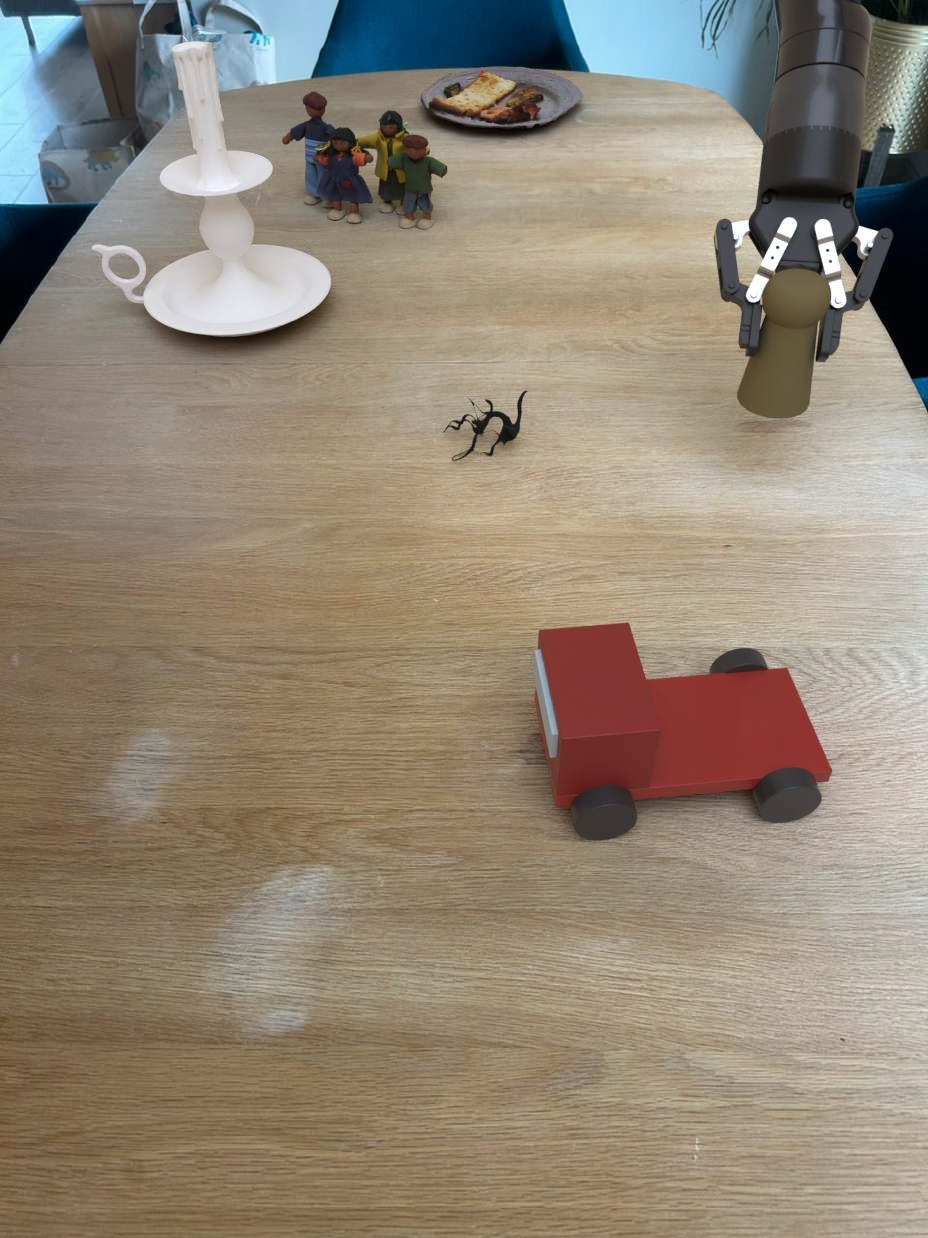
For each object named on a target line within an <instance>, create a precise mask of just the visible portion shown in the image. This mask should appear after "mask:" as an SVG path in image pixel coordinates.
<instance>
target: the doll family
mask: <svg viewBox="0 0 928 1238" xmlns="http://www.w3.org/2000/svg"><path fill="white" fill-rule="evenodd" d="M302 105H304V106H305V107H304V108H305V111H306V113H307V115H308V116H309V117H310V119H309V120H306V121H304V122H301V123H299V124H296V125H295V126H293V127H291V128H290V130H289V132H287V133H286V135H285V136H283V137H282V139H281V142H282V144H283V145H284V146H287V145H289V144H290V143H291V142H293V141H294V140H295V142H300V141H302V140H303V139H304V145H305V146H304V158H305V159H304V160H305V169H304V183H305V194H306V196H305V197H304V198H303V202H304V203H305V204H306V205H315V204H317V203H319V202H320V201H321V206H322V207H323V208H333V209H331V210H330V211H329V212H328V214H327V218H328V219H329V220H331V221H332V220H333V221H337V220H341V219H342V218H343V217H344V216H345V215H346V214H347V212H346V211H345V209H344V208H343V207H342V201H343V202H347V203H350V213H349V214H348V215H347V217H346V221H347V223H350V224H351V223H354V224H357V223H360V222H362V221H363V218H362V215H361V214H360V213H359V211H360V210H359V205H364V204H372V203H374V199H373V196H372V194H371V191H370V189H369V186H368V185H367V183H366V180H365V179H364V177H363V176H362V175H361V174H360V168H361V167H366V166H367V165H368V164H371V163H373V162H374V156H373V155H372V154H371V153H370V151H369V149H370V150H376V162H375V167H374V176H375V177H377V178H378V179H379V180H378V188H377V189H378V190H377V195H378V196H379V197H380V199H382V200H383V203H381V204H380V206H379V208H378V211H380V212H381V213H385V214H386V213H387V214H388V213H392V212H394V211H395V212H396V214H397V215H402V216H405V217H403V218H401V219H400V220H399V221H398V225H397V226H398V227H399V228H401V229H411V228H413V227H416V228H418V229H421V230H429V229H430V228H432V227H433V226H434V224H435V220H434V219H433V218H432V212H433V211H434V204H433V202H432V192H433V191H434V186H433V184H432V179H433V178H432V177H433V176H432V175H436V176H437V177H439V178H441V179H443V178H444V177H445V176H446V175H447V174H448V165H446V164H445V163H443V162H442V161H439V160H438V159H436V158H435V157H433V156H430V153H431V147H429V140H428V139H427V137H425V136H423V135H420V134H414V133H413V134H410V132H409V131H408V130H407V129H406V126H408V125H409V121H405V122H404V121H403V116H402V115H401V114H400V113H399V112H398V111H396V110H390V109H388V110H386V111H385V112H383V114H382V115H381V117H379V119H378V122H379V127H377V131H375V132H373V133H371V134H368V135H365V136H359V137H357V138H356V134H355V132H354V131H353V130H351V129H350V127H342V126H339V127H336V128H335V126H334V125H332V124H331V123H327V122H325V121H323V118H322V117H323V116H324V115H325V112H326V107H327V105H328V99H326V97H325V96H323V95H322V94H320V93H318V92H317V91H313V90H312V91H310V92H309V93H307V94H305V95H303V97H302ZM367 149H368V150H367ZM393 201H400V202H399V203H400V204H399V205H398V206H397V208H396V209H395V207H396V205H395V203H394V202H393ZM418 209H419V211H421V212H422V218H420V219H418V218H416V217H415V213H417V211H418Z"/></svg>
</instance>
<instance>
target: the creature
mask: <svg viewBox="0 0 928 1238" xmlns="http://www.w3.org/2000/svg"><path fill="white" fill-rule="evenodd" d="M526 393H528V390H524V391H522V393H521V394H520V395H519V397H518V400H517V403H516V409H517V410H516V411H517V416H516V421H515V423H513V422H512V421H511V418H510V416H508V415H507V414H505V412H502V411H500V410H494V404H493V402H492V400H490V399H487V398H485V399H484V401H485V402H486V404H488V405H489V411H482V410H481V408H479V406H477V404H476V403H475V402H474V401H473V400H472V399H471V398H468V400H469V401H470V403H471V405H472V407H473V409H474V413H475V416H476V418H475V417H474V416H473V415H472V414H469V413H466V414H464V415H463V416H462V417H461V420H458V419H453V420H451V421H450V422H449V423H448V425H446V427H445V429H444V430H443V431H442V433H445V432H446V431H447V430H448V429H449V428H451V429H452V430H454V431H456V432H458V431H460V430H461V427H462V425H464V422H468V423H469V424H470V426H471V428H472V432H474V436H473V438H472V442H471V446H470V447H469V449H467V450H464V451H463V452H459V453H457V454H456V455H453V456H452V457H451V460H452V461H453V462H455V461H459V460H462V459H464V458H466V457H467V456H468V455H470V454H471V453H472V452H475V454H478V452H477V451H475V448H476V443H477V441H478V436H479V435H480V436H482V435H483V434H485V433H487V432H489V430H487V431H485V430H486V428H487V426H488V425H489V422H490V420H492V419H493V418H499V419H500V420H501V421H502V427H501V429H500V433H498V432H497V431H496V430H495V429H493V430H491V432H495V434H496V435H497V436H498V437H497V439H496V441H495V442H494V443H493V444H492V445H491V447H490V451H489V452H486V451H482V452H481V454H485V455H487V456H489V457H491V456H493V454H494V451H495V448H496V446H497V445H498V444H499V443H502V444H503V445H504V446H505V445H506V443H509V442H511V441H513V440H515V439H516V438H517V437H518V434H519V433H520V430H521V419H522V415H523V407H522V405H523V400H524V397H525V396H526ZM475 407H476V408H477V409H478V410H479V411H480V413H481V414H482V415H481V416H479V417H478V414H477V412H476V409H475ZM468 416H469V417H471V418H473V419H472V420H469V419H467V417H468ZM482 417H484V418H483V419H480V418H482ZM452 423H455V424H457V426H455V425H452ZM464 453H465V454H464ZM462 454H464V455H462ZM459 455H462V456H460V457H458V458H455V457H456V456H459ZM454 458H455V459H454Z"/></svg>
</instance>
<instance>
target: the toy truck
mask: <svg viewBox="0 0 928 1238" xmlns="http://www.w3.org/2000/svg"><path fill="white" fill-rule="evenodd" d="M537 637H538V638H537V639H538V640H537V649H534V653H533V669H532V673H533V674H532V675H533V680H534V684H535V685H534V686H535V689H534V705H535V710H536V715H537V719H538V725H539V730H540V734H541V740H542V746H543V751H544V757H545V759H546V761H545V762H546V766H547V771H548V776H549V781H550V786H551V791H552V796H553V802H554V807H555V808H562V807H570V810H571V816H572V820H573V825H574V829H575V831H576V833H577V834H578V835H579V836H580V837H582V838H584V839H587V840H592V841H602V840H603V841H606V840H611V839H614V838H618V837H620V836H623V835H624V834H626V833H628V832H629V831H630V830H632V829H633V828H634V827H635V826H636V824H637V822H638V813H637V809H636V806H635V805H636V804H635V802H634V801H638V800H648V799H658V798H659V799H661V798H669V797H679V796H680V797H681V796H691V795H699V794H700V795H702V794H712V793H722V792H723V793H724V792H734V791H743V790H744V791H745V790H752V795H753V798H754V801H755V804H756V807H757V809H758V812H759V815H760V816H761V818H763V819H764V820H765V821H768V822H771V823H781V824H782V823H789V822H790V823H791V822H794V821H797V820H800V819H803V818H805V817H806V816H809V815H810V814H812V813H814V812H815V811H816V810H817V809H818V808H819V806H820V805H821V803H822V799H823V796H822V793H821V790H820V788H819V785H818V783H828V782H830V781H829V780H830V778H831V776H832V774H833V769H832V767H831V764H830V762H829V760H828V758H827V755H826V753H825V751H824V748H823V746H822V743H821V741H820V739H819V737H818V734H817V732H816V730H815V728H814V725H813V723H812V721H811V719H810V716H809V714H808V712H807V710H806V707H805V705H804V703H803V700H802V697H801V696H800V694H799V691H798V689H797V686H796V685H795V682H794V680H793V678H792V675H791V673H790V671H789V668H788V667H776V668H769V667H768V664H767V662H766V659H765V657H764V655H763V654H762V653H761V651H759V650H757V649H754V648H752V647H751V648H750V647H739V648H734V649H731V650H728V651H726V652H724V653H722V654H721V655H718V657H717V658H715V659H714V661H713V662H712V663H711V665H710V668H709V673H708V674H707V673H706V674H695V675H685V676H673V677H661V678H648V679H647V677H646V675H645V671H644V667H643V664H642V661H641V657H640V654H639V651H638V647H637V644H636V641H635V638H634V635H633V632H632V627H631V625H630V622H618V623H617V622H616V623H606V624H593V625H581V626H569V627H557V628H556V627H555V628H545V629H539V630H538V636H537Z"/></svg>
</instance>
